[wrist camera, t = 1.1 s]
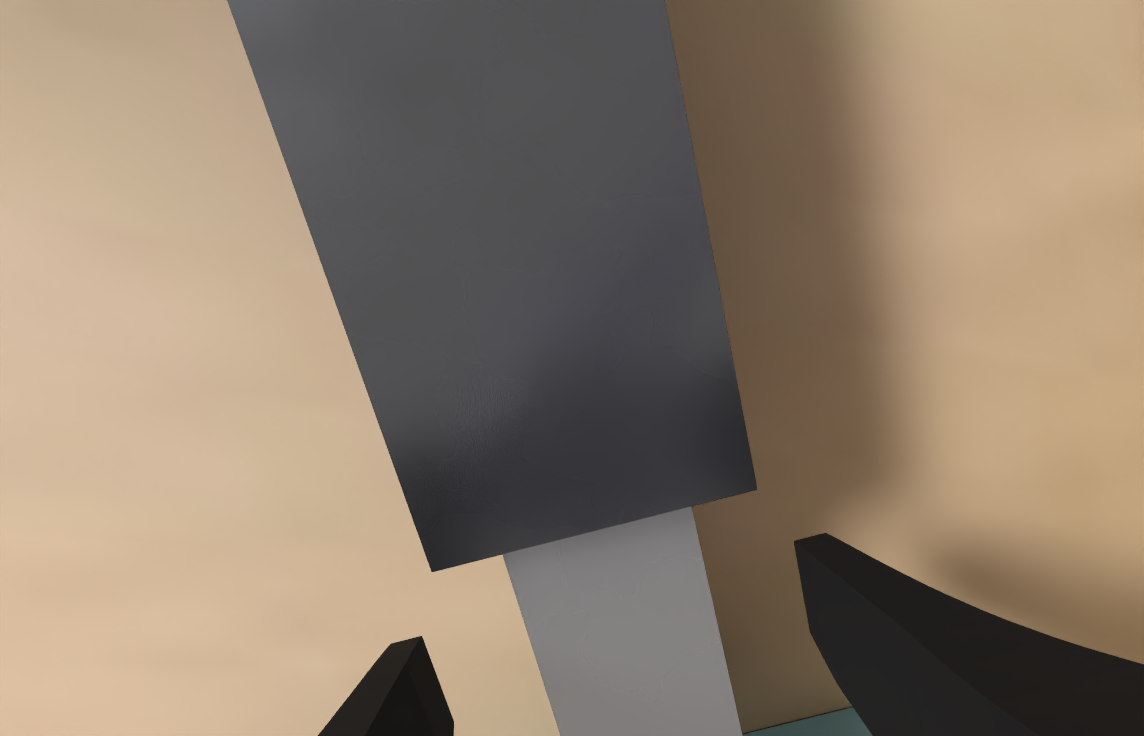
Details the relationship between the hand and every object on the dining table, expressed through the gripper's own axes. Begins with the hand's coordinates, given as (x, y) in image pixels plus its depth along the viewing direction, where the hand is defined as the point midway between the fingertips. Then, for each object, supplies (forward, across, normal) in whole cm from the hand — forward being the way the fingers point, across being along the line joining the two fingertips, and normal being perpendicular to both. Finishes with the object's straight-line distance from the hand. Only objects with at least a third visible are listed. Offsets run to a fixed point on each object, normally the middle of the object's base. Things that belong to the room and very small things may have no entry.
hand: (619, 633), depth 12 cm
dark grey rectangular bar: (+5, 0, -10) cm, 11 cm away
